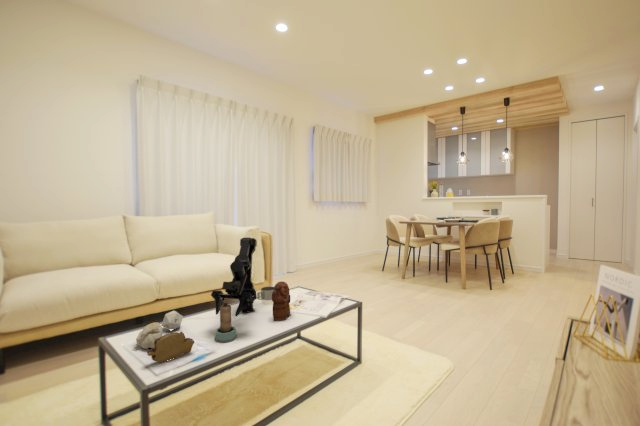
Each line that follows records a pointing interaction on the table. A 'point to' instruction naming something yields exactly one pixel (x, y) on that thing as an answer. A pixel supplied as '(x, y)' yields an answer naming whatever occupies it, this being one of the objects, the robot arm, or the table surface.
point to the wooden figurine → (281, 301)
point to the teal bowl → (225, 335)
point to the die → (172, 320)
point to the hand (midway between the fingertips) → (226, 315)
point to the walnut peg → (225, 318)
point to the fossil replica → (149, 335)
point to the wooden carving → (170, 346)
